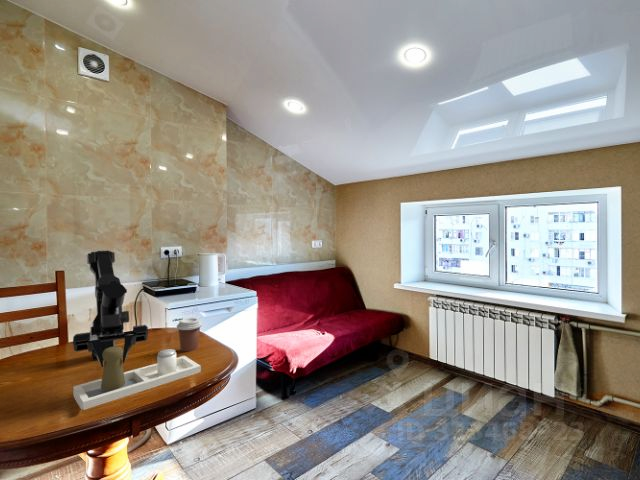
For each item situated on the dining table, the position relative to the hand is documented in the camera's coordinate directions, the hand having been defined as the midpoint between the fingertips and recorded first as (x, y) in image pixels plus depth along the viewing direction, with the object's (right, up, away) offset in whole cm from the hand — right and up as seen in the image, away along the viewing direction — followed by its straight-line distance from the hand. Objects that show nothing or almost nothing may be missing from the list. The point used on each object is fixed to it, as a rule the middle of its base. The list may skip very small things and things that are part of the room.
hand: (113, 364), depth 96 cm
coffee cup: (+8, -8, +35) cm, 37 cm away
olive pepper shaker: (-1, -7, +2) cm, 7 cm away
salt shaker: (+10, -8, +12) cm, 17 cm away
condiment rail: (+5, -9, +7) cm, 12 cm away
